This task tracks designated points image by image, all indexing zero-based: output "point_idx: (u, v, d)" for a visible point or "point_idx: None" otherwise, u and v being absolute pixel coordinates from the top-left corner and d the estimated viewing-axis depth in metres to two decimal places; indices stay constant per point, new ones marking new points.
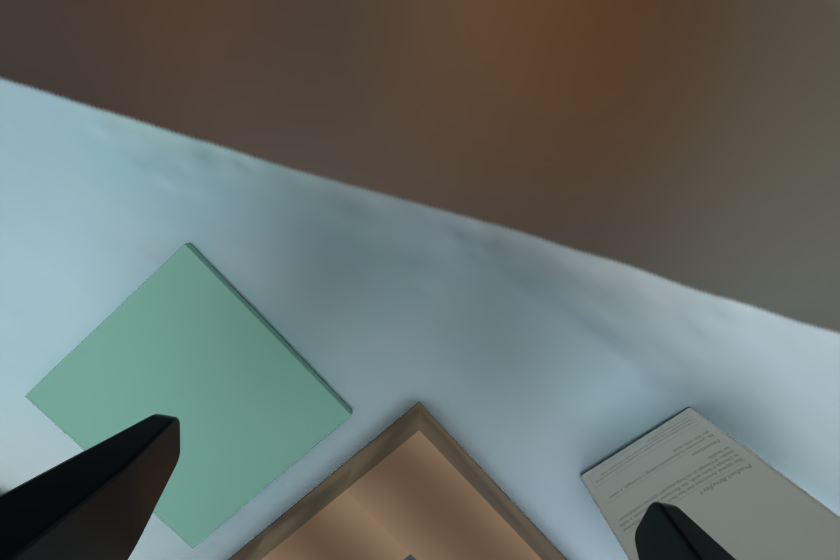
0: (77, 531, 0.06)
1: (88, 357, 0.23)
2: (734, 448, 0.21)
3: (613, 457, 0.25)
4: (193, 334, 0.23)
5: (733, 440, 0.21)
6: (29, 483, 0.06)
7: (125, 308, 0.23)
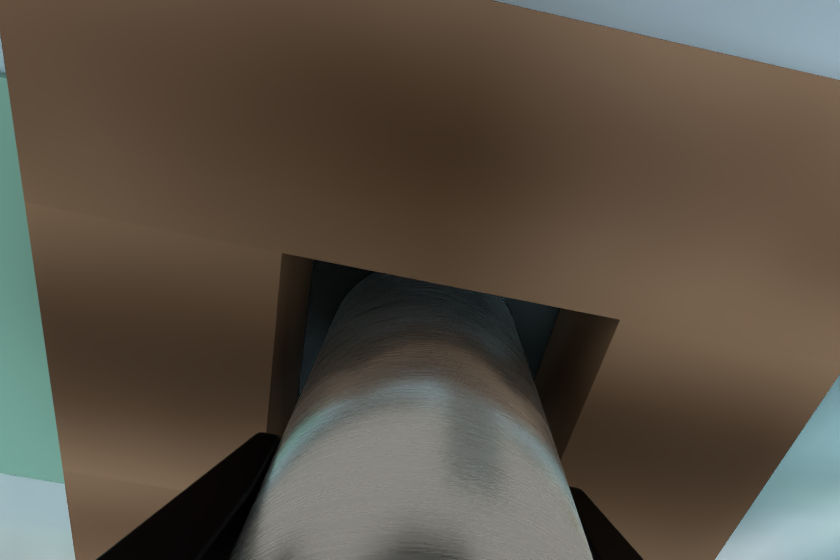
0: (218, 554, 0.06)
1: None
2: None
3: None
4: None
5: None
6: (169, 506, 0.06)
7: None
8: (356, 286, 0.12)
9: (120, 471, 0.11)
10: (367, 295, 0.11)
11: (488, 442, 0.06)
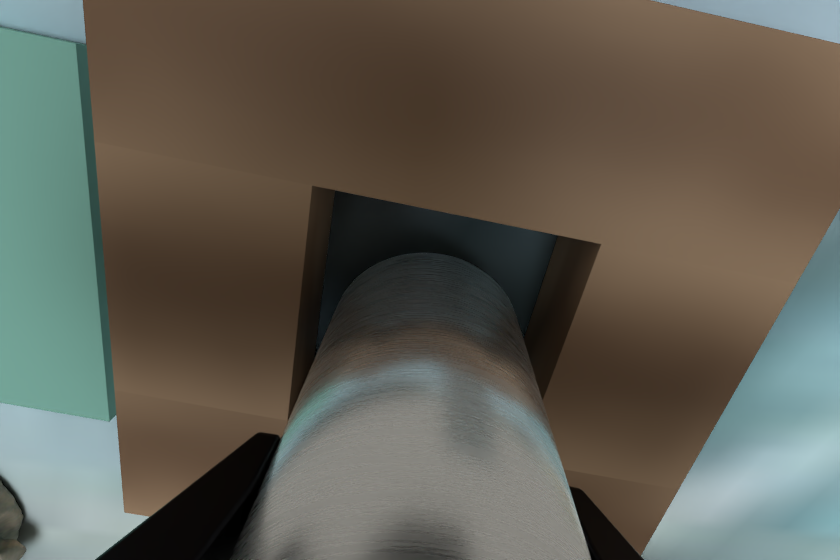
0: (217, 554, 0.06)
1: None
2: None
3: None
4: None
5: None
6: (169, 506, 0.06)
7: None
8: (357, 278, 0.12)
9: (165, 390, 0.12)
10: (368, 288, 0.11)
11: (485, 438, 0.06)
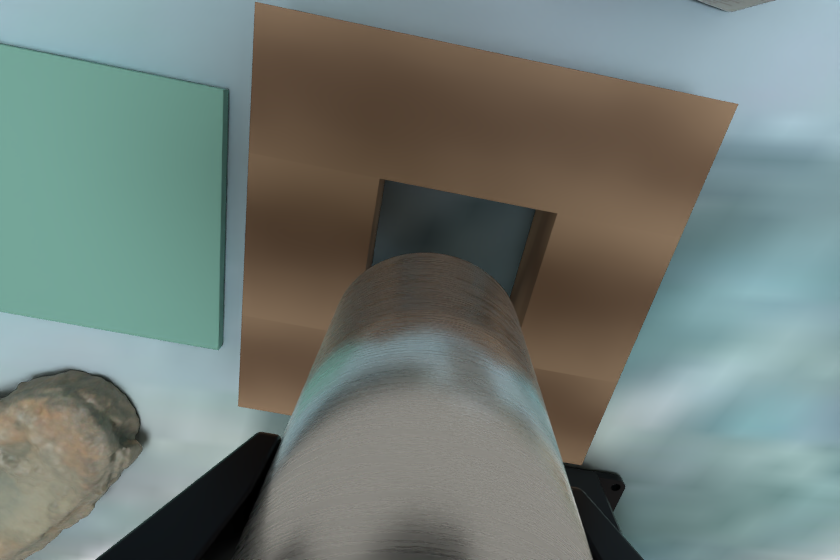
0: (217, 554, 0.06)
1: None
2: None
3: None
4: (11, 126, 0.19)
5: None
6: (169, 506, 0.06)
7: None
8: (357, 278, 0.12)
9: (275, 315, 0.19)
10: (369, 287, 0.11)
11: (487, 439, 0.06)
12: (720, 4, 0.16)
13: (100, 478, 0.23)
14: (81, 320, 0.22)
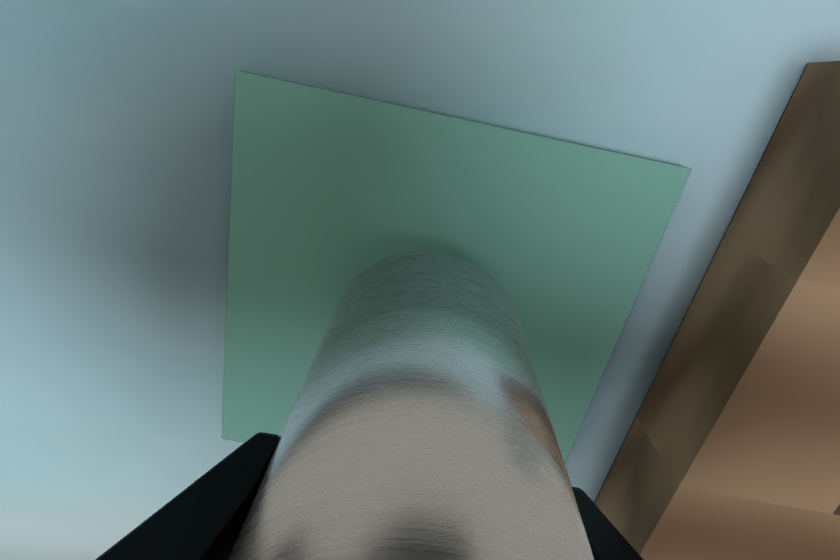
0: (217, 554, 0.06)
1: (249, 345, 0.15)
2: None
3: None
4: (355, 214, 0.13)
5: None
6: (169, 506, 0.06)
7: (238, 244, 0.13)
8: (357, 276, 0.12)
9: (728, 487, 0.13)
10: (368, 285, 0.11)
11: (486, 436, 0.06)
12: None
13: None
14: None
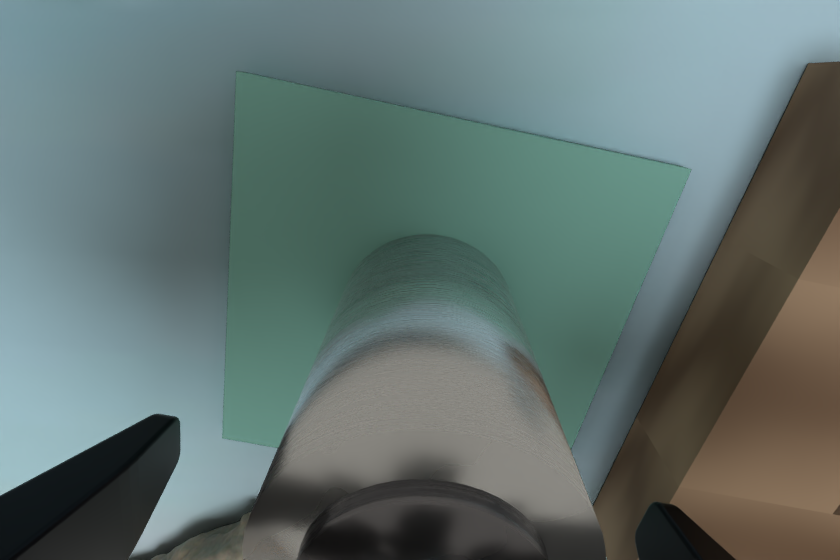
0: (77, 531, 0.06)
1: (249, 344, 0.15)
2: None
3: None
4: (356, 214, 0.13)
5: None
6: (29, 483, 0.06)
7: (239, 244, 0.13)
8: (365, 258, 0.13)
9: (728, 487, 0.13)
10: (377, 262, 0.12)
11: (486, 364, 0.07)
12: None
13: None
14: None
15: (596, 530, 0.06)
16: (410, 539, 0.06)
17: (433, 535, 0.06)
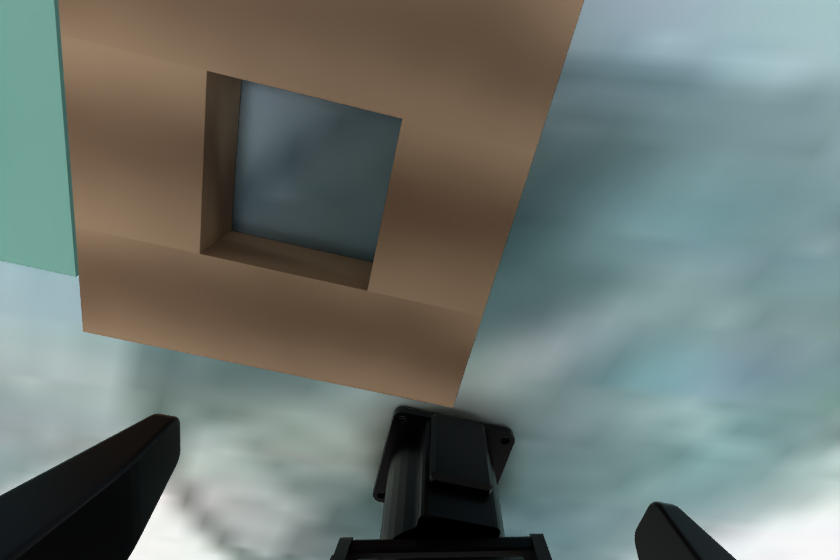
0: (77, 531, 0.06)
1: None
2: None
3: None
4: None
5: None
6: (29, 483, 0.06)
7: None
8: None
9: (111, 227, 0.17)
10: None
11: None
12: None
13: None
14: None
15: None
16: None
17: None
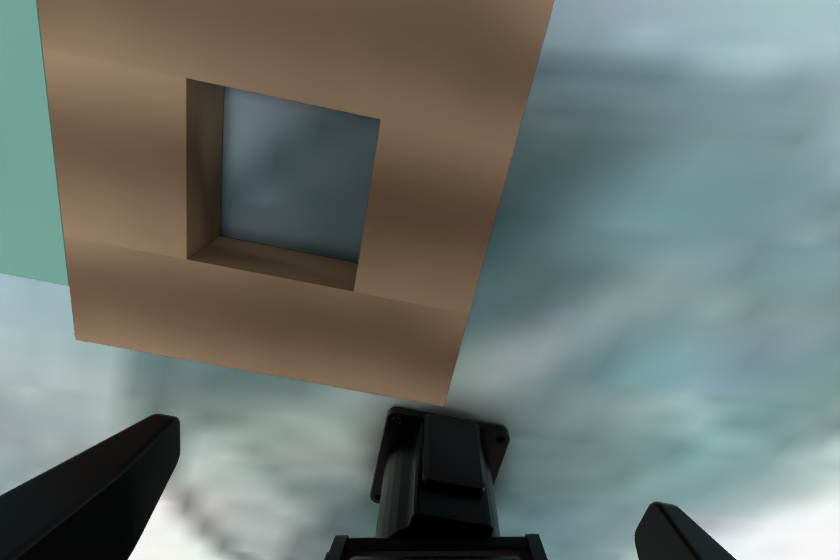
0: (77, 531, 0.06)
1: None
2: None
3: None
4: None
5: None
6: (29, 483, 0.06)
7: None
8: None
9: (99, 235, 0.18)
10: None
11: None
12: None
13: None
14: None
15: None
16: None
17: None
